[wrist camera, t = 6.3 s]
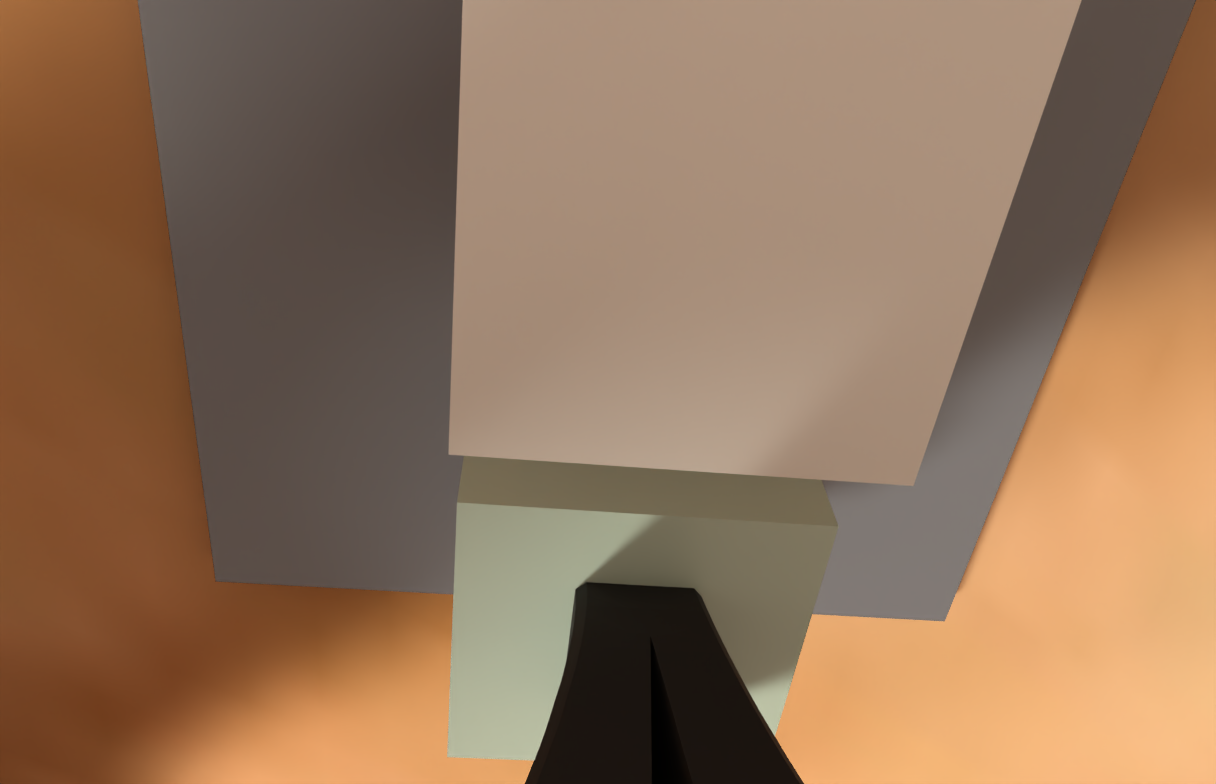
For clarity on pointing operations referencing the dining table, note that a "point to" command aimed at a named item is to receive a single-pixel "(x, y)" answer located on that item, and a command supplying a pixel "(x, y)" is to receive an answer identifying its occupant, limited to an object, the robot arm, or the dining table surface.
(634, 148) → the key cream
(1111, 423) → the dining table surface
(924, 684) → the dining table surface
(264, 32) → the keypad base
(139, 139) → the dining table surface
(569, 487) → the key sage
